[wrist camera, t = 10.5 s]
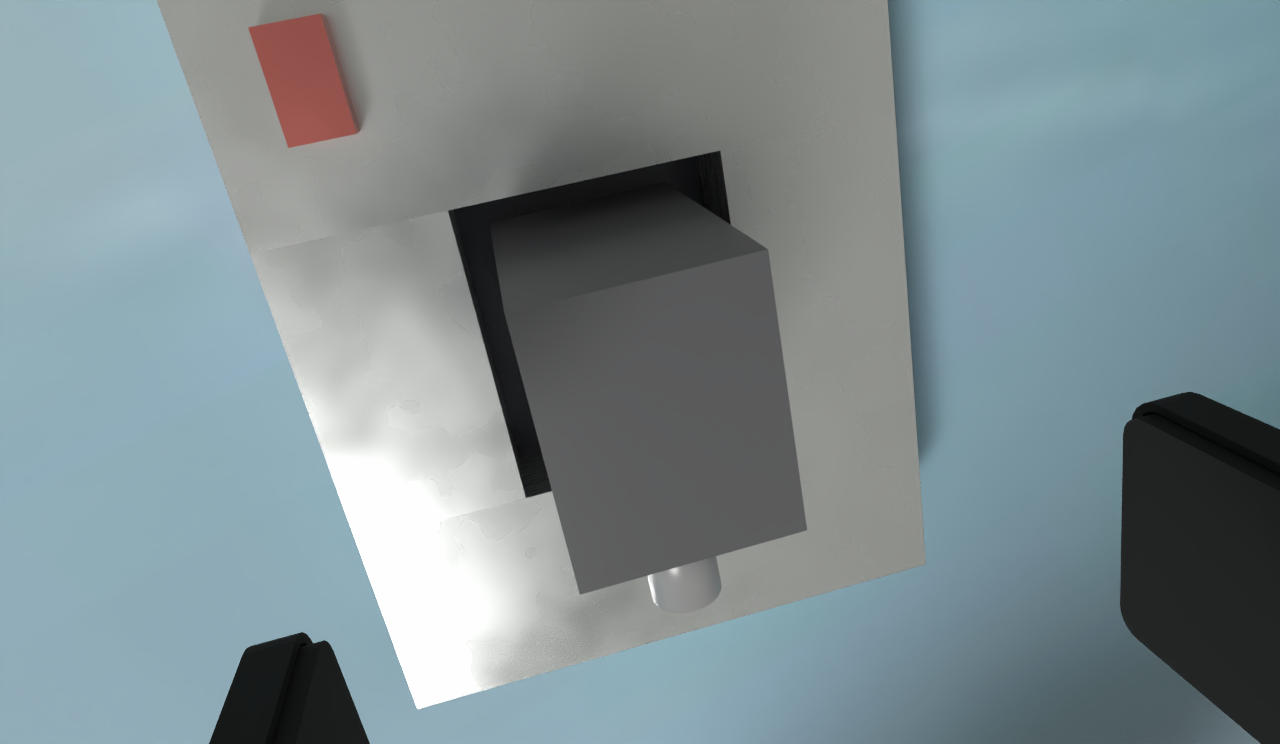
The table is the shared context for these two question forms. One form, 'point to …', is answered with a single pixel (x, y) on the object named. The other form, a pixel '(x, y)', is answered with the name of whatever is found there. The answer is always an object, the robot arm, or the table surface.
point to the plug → (652, 387)
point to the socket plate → (471, 297)
